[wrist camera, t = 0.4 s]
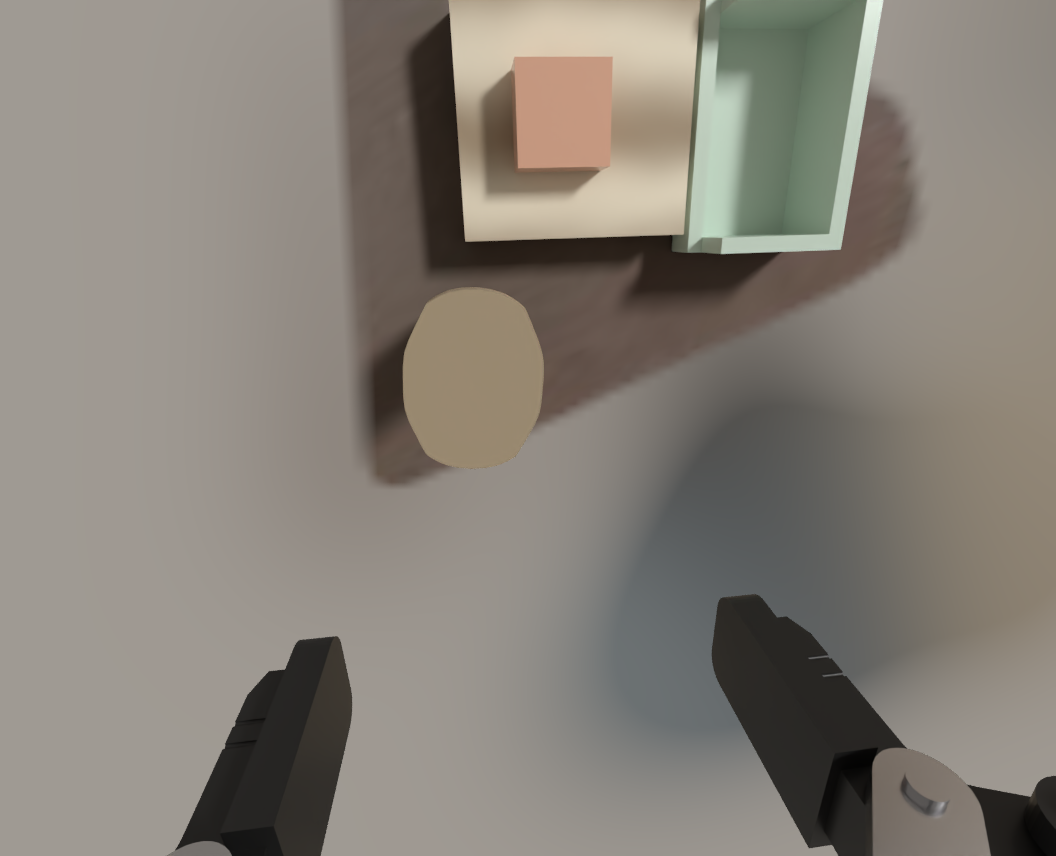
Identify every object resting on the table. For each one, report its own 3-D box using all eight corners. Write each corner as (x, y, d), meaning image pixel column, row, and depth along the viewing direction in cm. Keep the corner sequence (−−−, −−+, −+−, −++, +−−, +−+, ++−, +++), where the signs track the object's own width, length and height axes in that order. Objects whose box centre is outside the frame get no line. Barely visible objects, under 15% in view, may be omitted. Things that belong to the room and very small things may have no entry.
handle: (430, 368, 33) (404, 467, 19) (430, 261, 31) (401, 285, 17) (506, 371, 34) (535, 469, 20) (512, 266, 31) (550, 293, 17)
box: (686, 13, 28) (730, -31, 23) (819, 14, 29) (888, -28, 24) (671, 251, 32) (706, 254, 27) (787, 247, 33) (840, 249, 28)
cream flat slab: (449, 12, 27) (447, -15, 24) (677, 13, 28) (701, -12, 25) (465, 240, 31) (465, 241, 28) (664, 234, 32) (683, 234, 29)
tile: (510, 69, 25) (514, 56, 23) (602, 69, 26) (612, 56, 24) (514, 172, 27) (517, 168, 25) (600, 170, 27) (610, 166, 25)
